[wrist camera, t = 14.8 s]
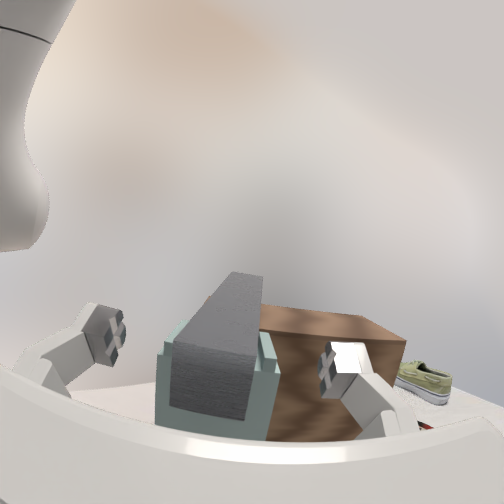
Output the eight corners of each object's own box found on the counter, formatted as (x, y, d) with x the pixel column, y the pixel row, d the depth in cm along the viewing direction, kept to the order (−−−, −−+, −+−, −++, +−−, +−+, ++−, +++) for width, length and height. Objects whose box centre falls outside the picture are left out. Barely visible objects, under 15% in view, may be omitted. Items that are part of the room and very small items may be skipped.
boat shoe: (392, 370, 84) (399, 346, 84) (455, 400, 57) (465, 372, 57) (372, 374, 81) (379, 348, 81) (437, 409, 54) (449, 379, 54)
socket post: (161, 540, 17) (158, 339, 17) (169, 508, 23) (177, 318, 23) (233, 551, 17) (283, 359, 17) (233, 518, 23) (273, 333, 23)
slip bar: (169, 406, 12) (172, 340, 12) (227, 301, 34) (232, 271, 33) (244, 421, 12) (256, 356, 11) (257, 306, 34) (262, 276, 33)
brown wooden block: (180, 497, 26) (193, 318, 26) (192, 444, 39) (209, 295, 39) (341, 503, 26) (406, 340, 26) (321, 454, 39) (361, 315, 39)
